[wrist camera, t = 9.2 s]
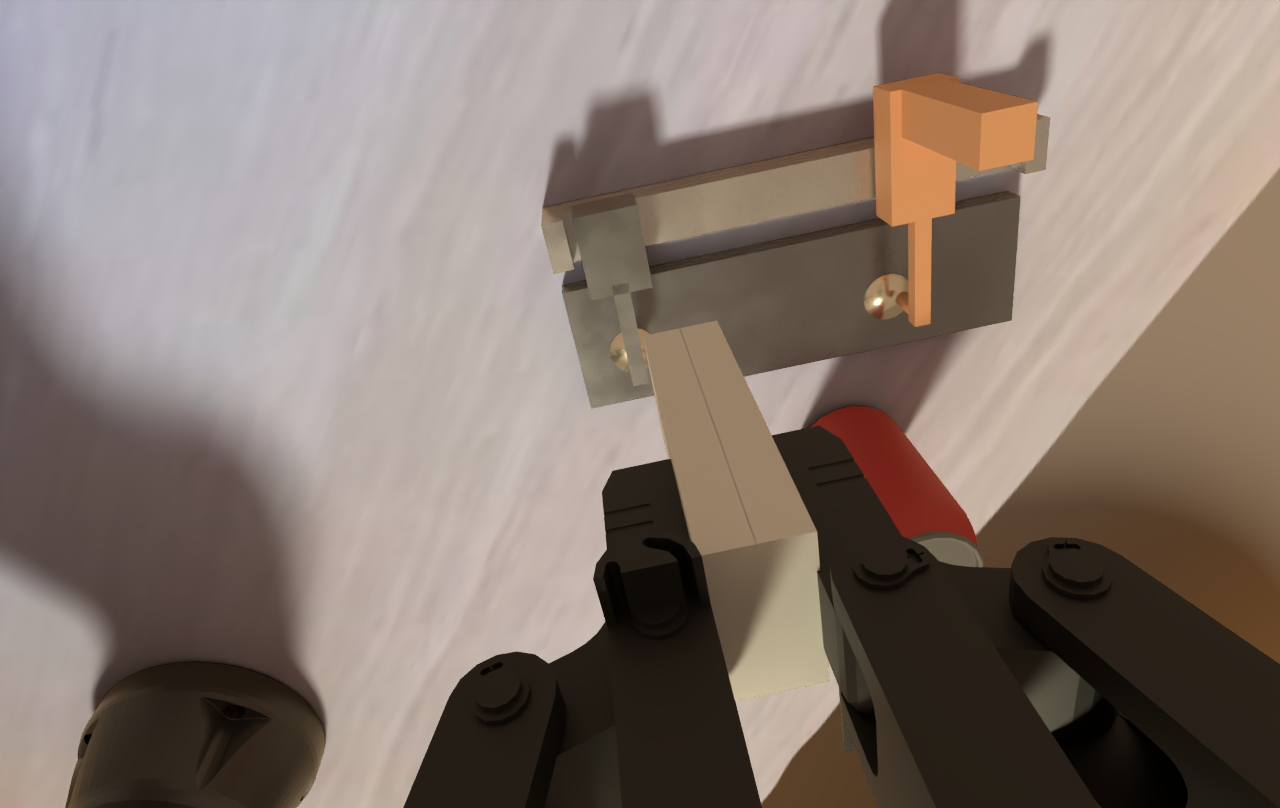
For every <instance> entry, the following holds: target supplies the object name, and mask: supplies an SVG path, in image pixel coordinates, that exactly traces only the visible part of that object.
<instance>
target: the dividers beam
mask: <svg viewBox="0 0 1280 808" xmlns="http://www.w3.org/2000/svg"><path fill="white" fill-rule="evenodd" d="M1049 124H1050V117H1047V116H1043V115H1039V114H1037V120H1036V133H1035V146H1034V159H1033V160H1029V161H1025V162H1020V163H1015V164H1011V165H1006V166H1001V167H996V168H992V169H987V170H982V171H978V170H975V169H973V168H971V167H969V166H966V165H964V164H962V163H959V162H957V161H956V180H961V179H965V178H970V177H975V176H980V175H984V174H989V173H994V172H999V171H1003V170H1008V169H1014V170H1016V171H1019V172H1021V173H1024V174H1028V173H1032V172H1037V171H1042V170H1046V159H1047V147H1048V136H1049ZM871 198H876V181H875V142H874V137H873V138H868V139H863V140H858V141H854V142H849V143H844V144H840V145H835V146H830V147H826V148H821V149H816V150H811V151H807V152H802V153H797V154H793V155H788V156H783V157H778V158H774V159H769V160H764V161H760V162H755V163H750V164H745V165H741V166H736V167H731V168H727V169H722V170H717V171H713V172H708V173H703V174H698V175H694V176H689V177H684V178H680V179H675V180H670V181H665V182H661V183H656V184H651V185H647V186H642V187H637V188H632V189H628V190H623V191H618V192H614V193H609V194H604V195H599V196H595V197H590V198H585V199H581V200H576V201H571V202H567V203H562V204H557V205H552V206H548V207H543V209H542V223H541V226H542V230H543V234H544V238H545V242H546V245H547V249H548V253H549V257H550V261H551V265H552V269H553V273H554V274H555V273H560V272H565V271H569V270H574V261H578V260H582V264H583V268H584V273H585V277H586V281H587V286H588V290H589V294H590V298H591V300H596V299H601V298H606V297H610V296H614V300H615V304H616V309H617V313H618V318H619V323H620V327H621V332H622V337H623V341H624V346H625V350H626V355H627V360H628V364H629V369H630V373H631V378H632V383H633V386H638V385H642V384H647V383H649V382H648V377H647V372H646V367H645V363H644V358H643V353H642V348H641V343H640V338H639V333H638V328H637V323H636V319H635V314H634V309H633V304H632V299H631V294H630V292H634V291H639V290H644V289H648V288H653V286H652V281H651V275H650V270H649V265H648V259H647V254H646V249H645V246H649V245H654V244H658V243H663V242H668V241H673V240H677V239H682V238H687V237H692V236H696V235H701V234H706V233H710V232H715V231H720V230H725V229H729V228H734V227H739V226H744V225H748V224H753V223H758V222H762V221H767V220H772V219H777V218H781V217H786V216H791V215H795V214H800V213H805V212H810V211H814V210H819V209H824V208H829V207H833V206H838V205H843V204H847V203H852V202H857V201H862V200H866V199H871Z"/></svg>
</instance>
